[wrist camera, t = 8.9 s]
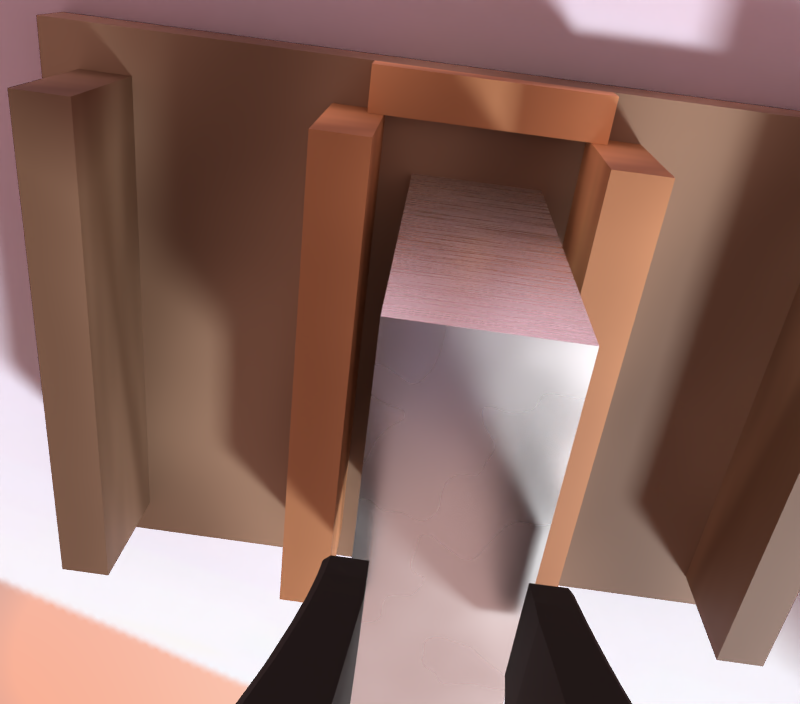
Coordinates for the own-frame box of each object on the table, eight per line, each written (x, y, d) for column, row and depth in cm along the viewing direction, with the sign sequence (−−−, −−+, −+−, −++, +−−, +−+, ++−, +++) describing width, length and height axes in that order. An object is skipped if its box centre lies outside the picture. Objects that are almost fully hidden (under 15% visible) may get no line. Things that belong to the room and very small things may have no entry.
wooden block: (476, 500, 22) (486, 765, 14) (371, 486, 22) (330, 743, 14) (541, 190, 17) (598, 346, 10) (411, 173, 17) (380, 315, 10)
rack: (924, 127, 17) (1052, 172, 14) (731, 582, 24) (781, 696, 20) (61, 12, 18) (-46, 24, 14) (100, 494, 24) (34, 592, 20)
